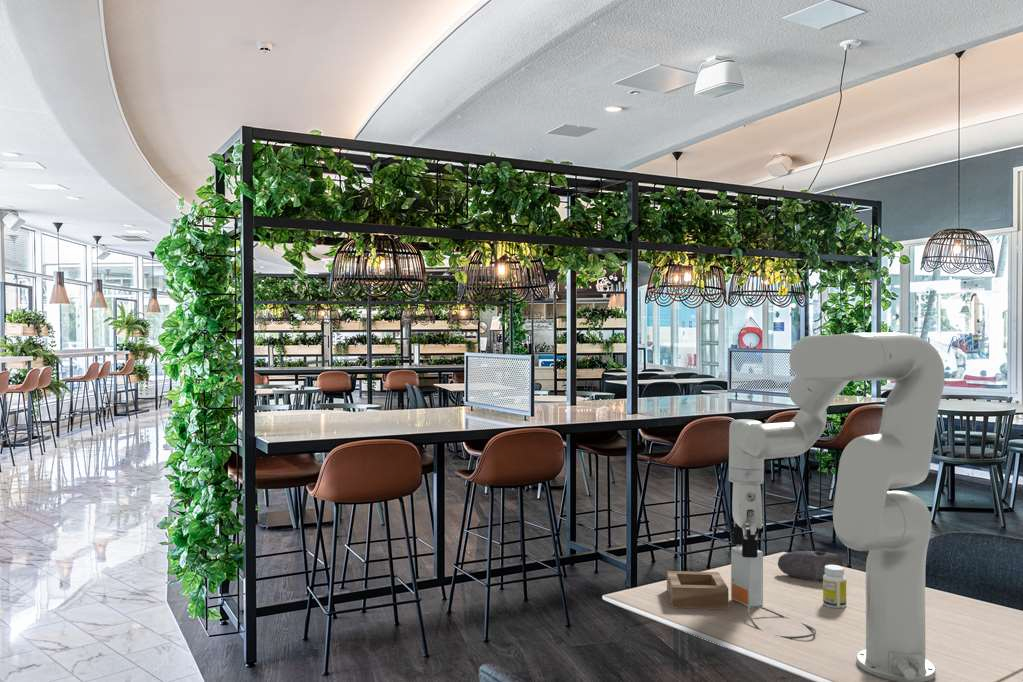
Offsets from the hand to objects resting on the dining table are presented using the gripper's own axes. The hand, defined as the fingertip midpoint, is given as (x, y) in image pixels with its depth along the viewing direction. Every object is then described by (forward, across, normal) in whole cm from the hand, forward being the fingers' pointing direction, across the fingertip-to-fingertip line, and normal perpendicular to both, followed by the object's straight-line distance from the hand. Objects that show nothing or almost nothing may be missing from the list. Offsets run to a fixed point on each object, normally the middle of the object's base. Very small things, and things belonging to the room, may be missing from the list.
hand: (744, 550), depth 171 cm
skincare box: (+12, -1, 0) cm, 12 cm away
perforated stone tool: (+12, +18, -20) cm, 29 cm away
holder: (+12, 0, +10) cm, 16 cm away
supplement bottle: (+11, -1, -20) cm, 23 cm away
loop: (+12, -15, -4) cm, 19 cm away
